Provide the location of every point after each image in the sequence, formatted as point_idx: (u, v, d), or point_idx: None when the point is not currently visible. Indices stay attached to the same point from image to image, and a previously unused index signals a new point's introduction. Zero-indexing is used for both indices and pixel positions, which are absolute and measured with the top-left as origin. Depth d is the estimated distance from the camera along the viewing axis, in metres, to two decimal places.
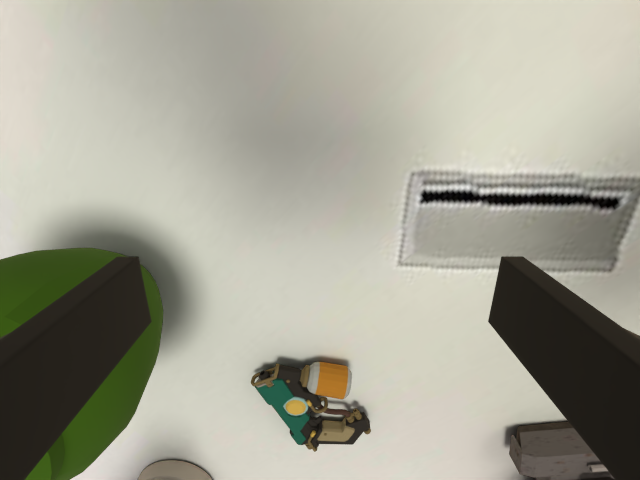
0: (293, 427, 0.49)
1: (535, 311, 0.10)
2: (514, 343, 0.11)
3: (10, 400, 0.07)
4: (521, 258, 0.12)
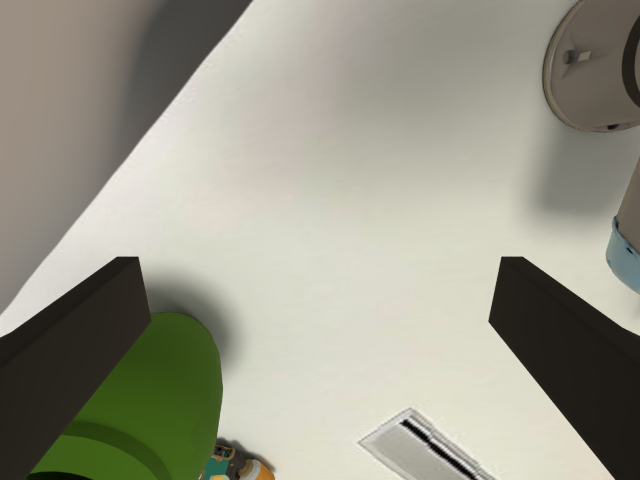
0: None
1: (535, 311, 0.10)
2: (514, 343, 0.11)
3: (10, 400, 0.07)
4: (522, 258, 0.12)
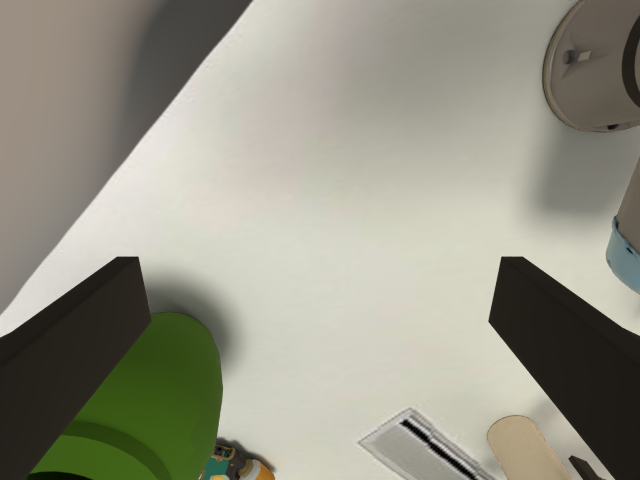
0: None
1: (535, 311, 0.10)
2: (514, 343, 0.11)
3: (10, 400, 0.07)
4: (522, 258, 0.12)
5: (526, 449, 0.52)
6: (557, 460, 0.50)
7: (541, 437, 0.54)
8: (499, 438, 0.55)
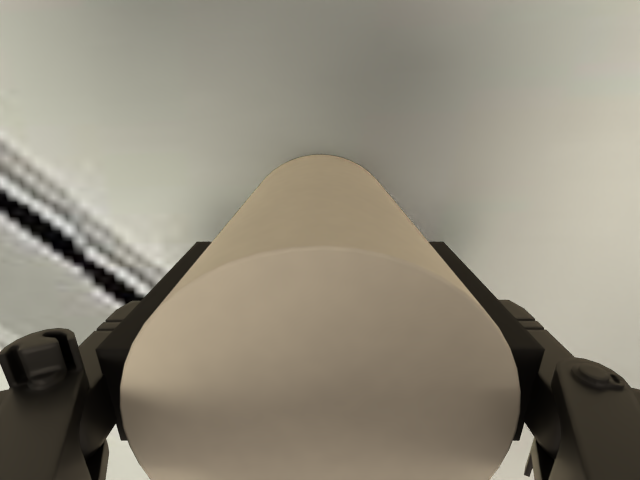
0: None
1: None
2: None
3: None
4: (442, 243, 0.13)
5: (276, 182, 0.12)
6: (389, 202, 0.11)
7: (370, 179, 0.15)
8: None
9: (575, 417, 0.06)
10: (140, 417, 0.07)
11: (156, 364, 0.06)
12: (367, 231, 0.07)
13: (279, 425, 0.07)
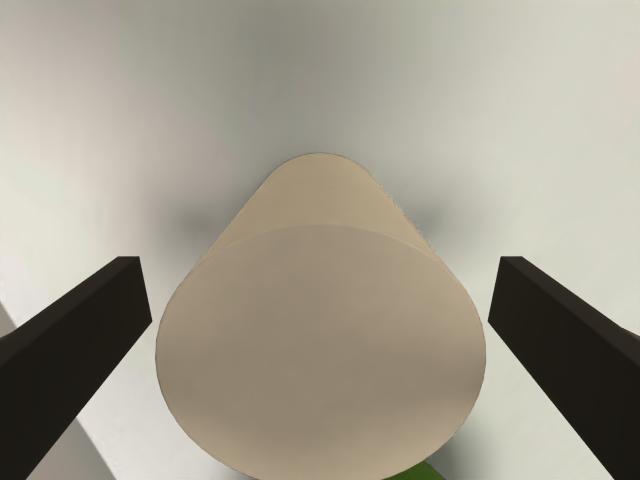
0: None
1: (534, 311, 0.10)
2: (512, 343, 0.11)
3: (12, 400, 0.07)
4: (520, 258, 0.12)
5: (280, 177, 0.14)
6: (381, 194, 0.13)
7: (366, 175, 0.16)
8: None
9: None
10: (172, 367, 0.08)
11: (186, 320, 0.08)
12: (359, 212, 0.08)
13: (287, 374, 0.08)
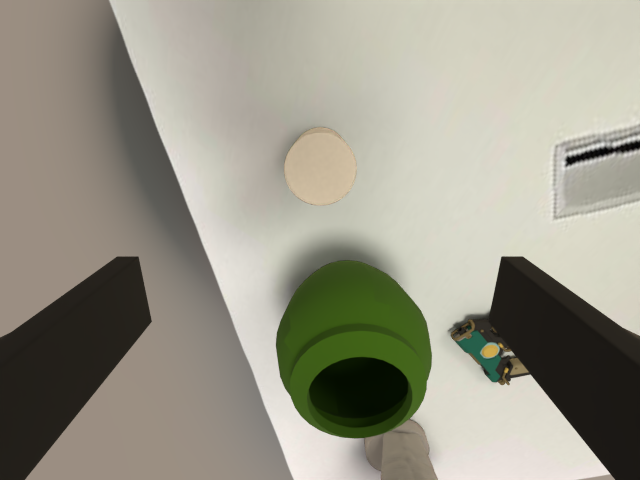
0: (489, 368, 0.61)
1: (535, 311, 0.10)
2: (513, 343, 0.11)
3: (10, 400, 0.07)
4: (521, 258, 0.12)
5: (307, 132, 0.44)
6: (338, 135, 0.43)
7: (336, 133, 0.46)
8: None
9: None
10: (287, 167, 0.38)
11: (292, 154, 0.38)
12: (328, 132, 0.38)
13: (312, 169, 0.38)
